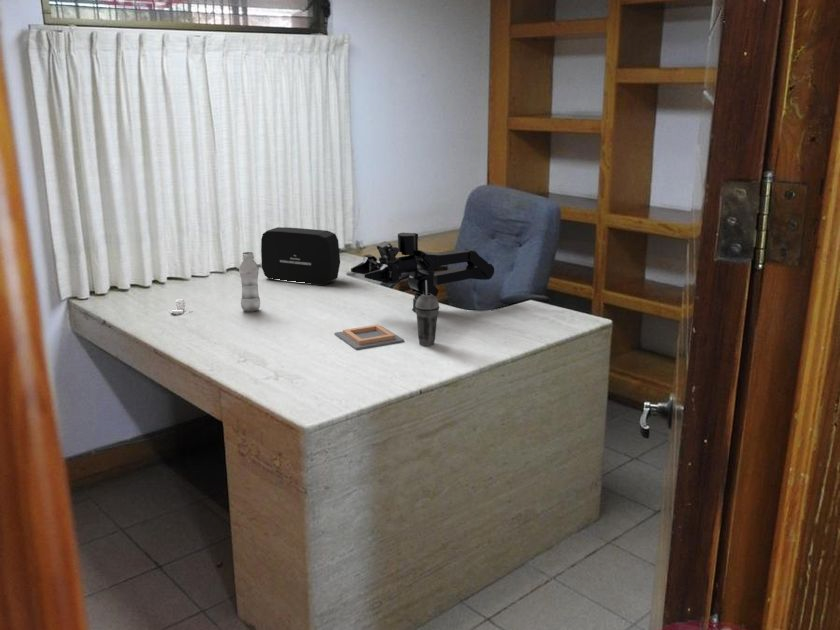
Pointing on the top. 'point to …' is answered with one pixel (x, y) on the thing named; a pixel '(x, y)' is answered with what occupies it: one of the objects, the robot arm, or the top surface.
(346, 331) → the cup dock
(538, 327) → the top surface
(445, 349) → the top surface
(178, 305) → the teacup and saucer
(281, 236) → the black hard case
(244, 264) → the plastic bottle
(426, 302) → the beverage cup
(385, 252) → the robot arm
